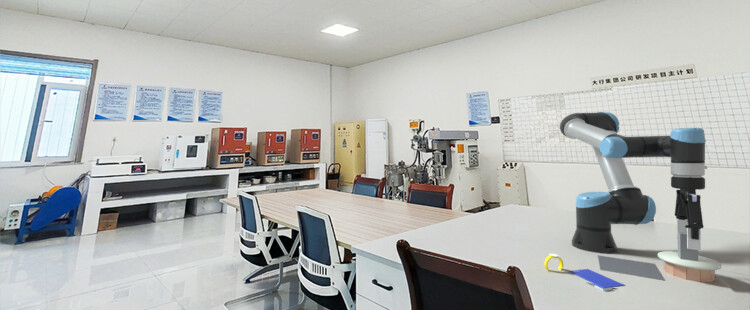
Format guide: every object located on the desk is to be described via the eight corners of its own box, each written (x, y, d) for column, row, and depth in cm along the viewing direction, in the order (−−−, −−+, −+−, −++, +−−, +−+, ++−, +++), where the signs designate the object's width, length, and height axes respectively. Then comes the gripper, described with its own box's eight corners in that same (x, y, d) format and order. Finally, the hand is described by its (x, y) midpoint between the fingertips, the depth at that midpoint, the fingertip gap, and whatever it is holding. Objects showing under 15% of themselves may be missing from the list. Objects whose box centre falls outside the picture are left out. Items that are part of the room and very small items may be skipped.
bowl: (668, 279, 93) (668, 263, 93) (660, 267, 102) (660, 253, 102) (720, 287, 87) (720, 270, 87) (707, 274, 96) (706, 259, 96)
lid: (663, 264, 93) (663, 235, 93) (653, 251, 105) (653, 225, 104) (730, 273, 85) (729, 242, 85) (711, 258, 97) (711, 231, 97)
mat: (600, 271, 100) (600, 269, 100) (597, 257, 113) (597, 255, 113) (665, 283, 91) (665, 280, 91) (654, 266, 104) (654, 263, 104)
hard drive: (568, 270, 99) (603, 287, 87) (588, 268, 100) (626, 284, 88) (568, 275, 99) (603, 292, 87) (588, 273, 100) (626, 289, 88)
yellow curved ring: (559, 270, 102) (560, 253, 102) (564, 274, 99) (565, 256, 99) (542, 270, 102) (543, 253, 102) (547, 273, 99) (548, 256, 99)
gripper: (719, 180, 83) (719, 257, 83) (692, 173, 102) (693, 236, 102) (681, 179, 87) (681, 252, 87) (662, 173, 106) (663, 233, 107)
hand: (687, 244), depth 95 cm, fingers open, 11 cm apart
